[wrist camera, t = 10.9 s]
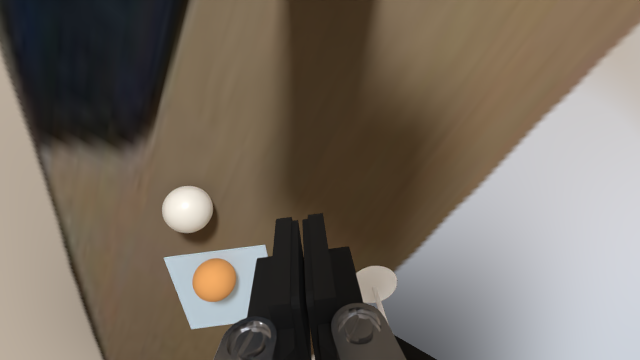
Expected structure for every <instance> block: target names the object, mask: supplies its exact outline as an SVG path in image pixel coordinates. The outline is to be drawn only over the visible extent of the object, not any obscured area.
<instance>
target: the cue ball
mask: <svg viewBox="0 0 640 360" xmlns="http://www.w3.org/2000/svg"><path fill="white" fill-rule="evenodd" d="M212 214H213V204H212V201H211V198H210V197H209V195H208V194H207V193H206V192H205V191H204V190H202V189H200V188H198V187H194V186H183V187H179V188H177V189H175V190H173V191H172V192H171V193H169V194H168V196H167V197H166V198H165V200H164V203H163V206H162V215H163V218H164V220H165V222H166V223H167V225H168V226H169V227H171V228H172V229H173V230H175V231H178V232H181V233H192V232H196V231H198V230H200V229H202V228H203V227H204V226H206V225H207V223H208V222H209V221H210V219H211V217H212Z"/></svg>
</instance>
